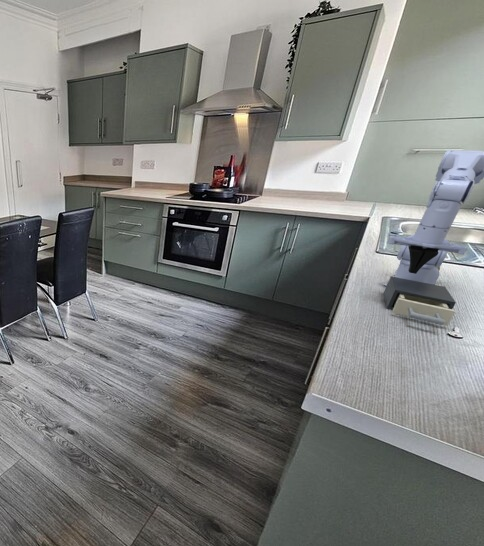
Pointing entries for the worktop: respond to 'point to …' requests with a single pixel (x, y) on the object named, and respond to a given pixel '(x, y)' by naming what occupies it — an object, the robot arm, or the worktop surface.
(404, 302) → the cream drawer
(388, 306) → the drawer box
